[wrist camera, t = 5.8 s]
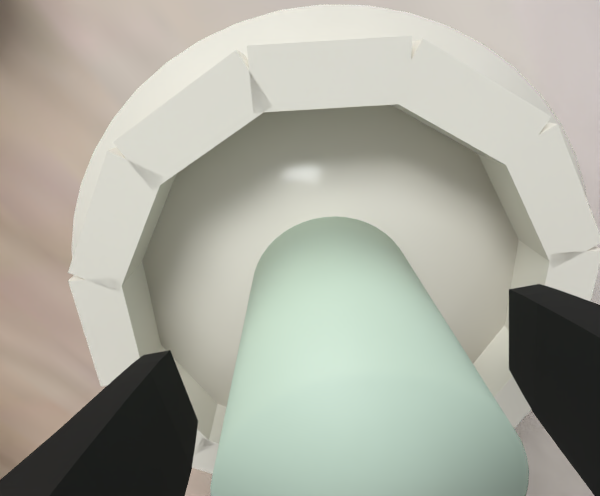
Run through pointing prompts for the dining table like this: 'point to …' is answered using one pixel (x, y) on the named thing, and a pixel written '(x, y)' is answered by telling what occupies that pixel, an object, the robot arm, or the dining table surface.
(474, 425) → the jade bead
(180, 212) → the round bowl
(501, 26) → the dining table surface
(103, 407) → the robot arm
